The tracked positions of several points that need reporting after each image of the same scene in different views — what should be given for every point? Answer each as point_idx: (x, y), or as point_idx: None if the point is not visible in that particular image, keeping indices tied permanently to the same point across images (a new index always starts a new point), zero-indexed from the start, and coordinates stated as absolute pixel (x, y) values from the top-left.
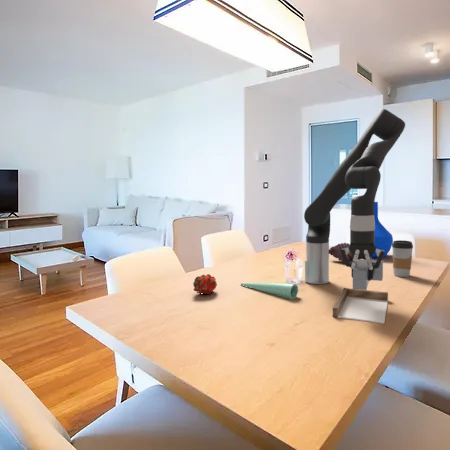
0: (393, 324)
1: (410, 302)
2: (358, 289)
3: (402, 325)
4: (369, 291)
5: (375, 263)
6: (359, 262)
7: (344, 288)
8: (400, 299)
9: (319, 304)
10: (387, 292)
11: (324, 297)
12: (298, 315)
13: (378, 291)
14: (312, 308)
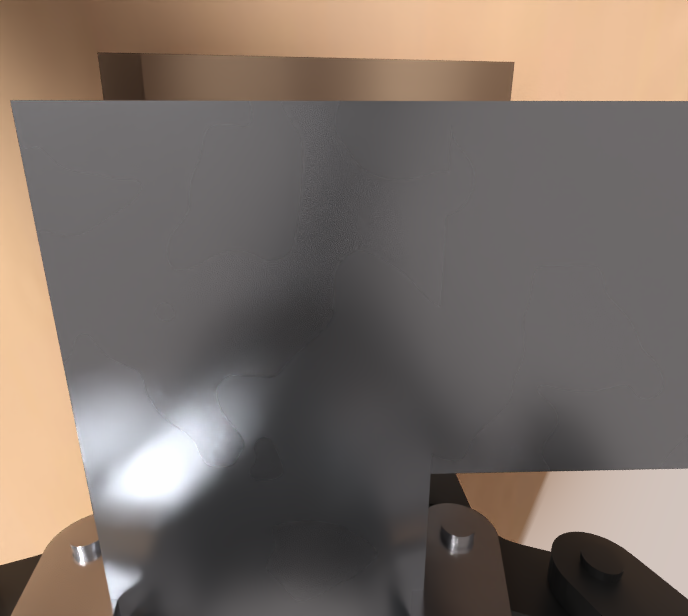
0: (488, 504)
1: (644, 71)
2: (245, 58)
3: (528, 501)
4: (351, 95)
5: (574, 456)
6: (176, 540)
7: (110, 71)
8: (583, 12)
9: (41, 351)
10: (509, 68)
11: (10, 181)
12: (10, 558)
13: (431, 63)
14: (31, 436)
